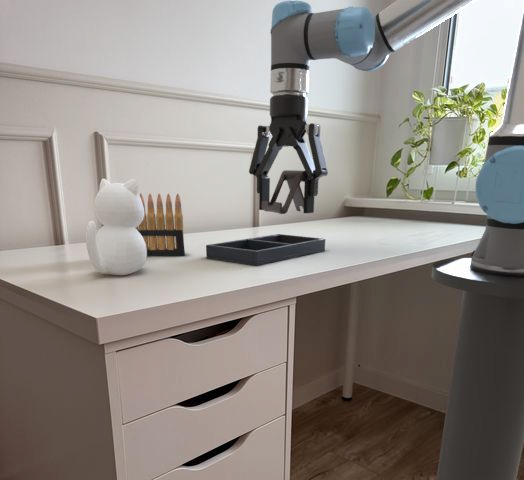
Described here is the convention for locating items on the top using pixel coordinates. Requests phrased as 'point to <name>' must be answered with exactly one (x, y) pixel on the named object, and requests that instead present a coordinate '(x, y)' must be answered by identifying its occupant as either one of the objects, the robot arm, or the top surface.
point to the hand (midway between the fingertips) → (285, 211)
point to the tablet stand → (295, 192)
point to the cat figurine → (117, 229)
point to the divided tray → (264, 249)
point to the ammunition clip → (163, 228)
